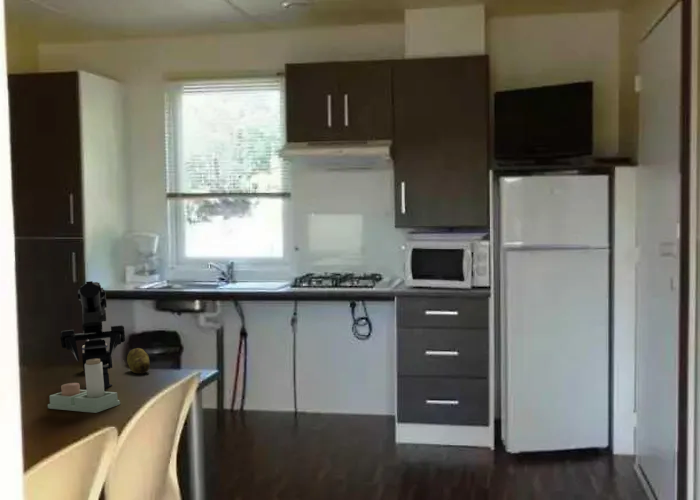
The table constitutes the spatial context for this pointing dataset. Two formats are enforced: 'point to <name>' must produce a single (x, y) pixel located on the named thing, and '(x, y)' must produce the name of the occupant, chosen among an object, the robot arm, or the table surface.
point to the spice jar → (94, 378)
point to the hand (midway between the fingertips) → (94, 359)
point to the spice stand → (81, 400)
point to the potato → (138, 360)
